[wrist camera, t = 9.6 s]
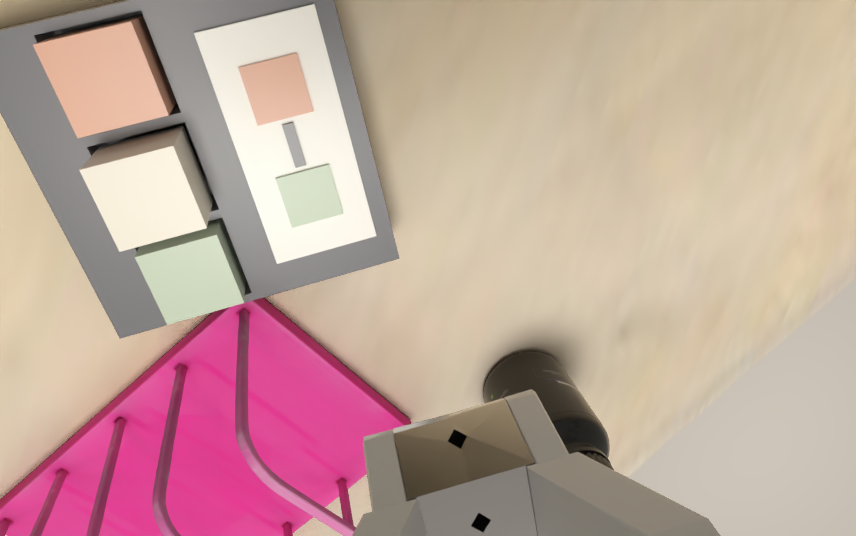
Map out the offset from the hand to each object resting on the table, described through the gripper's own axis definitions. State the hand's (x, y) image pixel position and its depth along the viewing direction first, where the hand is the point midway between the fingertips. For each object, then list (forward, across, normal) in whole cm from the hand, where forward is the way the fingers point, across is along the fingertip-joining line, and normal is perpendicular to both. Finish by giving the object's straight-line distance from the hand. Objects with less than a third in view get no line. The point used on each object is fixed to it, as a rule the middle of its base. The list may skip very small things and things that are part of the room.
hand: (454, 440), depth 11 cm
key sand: (+27, +11, +2) cm, 29 cm away
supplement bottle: (+31, -8, +26) cm, 41 cm away
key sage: (+29, +11, +7) cm, 31 cm away
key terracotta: (+29, +11, -4) cm, 31 cm away
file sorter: (+30, +16, +24) cm, 42 cm away
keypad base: (+30, +8, +2) cm, 31 cm away
